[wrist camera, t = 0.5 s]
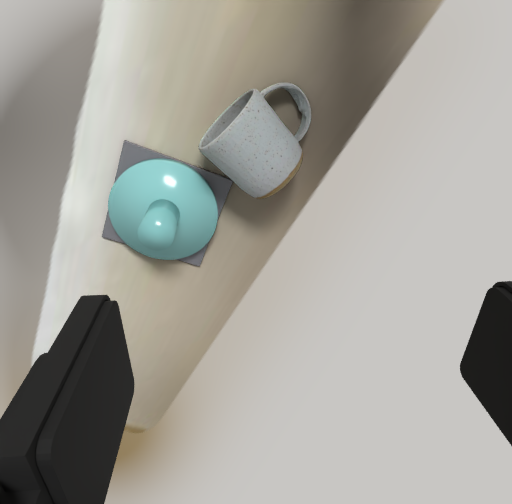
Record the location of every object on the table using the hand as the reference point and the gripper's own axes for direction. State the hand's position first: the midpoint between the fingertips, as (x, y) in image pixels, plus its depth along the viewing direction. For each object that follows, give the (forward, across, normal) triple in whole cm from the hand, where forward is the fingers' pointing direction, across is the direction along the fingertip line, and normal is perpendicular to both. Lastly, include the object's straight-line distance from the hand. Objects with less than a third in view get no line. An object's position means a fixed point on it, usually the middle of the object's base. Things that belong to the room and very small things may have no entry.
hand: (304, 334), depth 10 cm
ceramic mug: (+33, -1, +1) cm, 33 cm away
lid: (+33, +9, +10) cm, 36 cm away
